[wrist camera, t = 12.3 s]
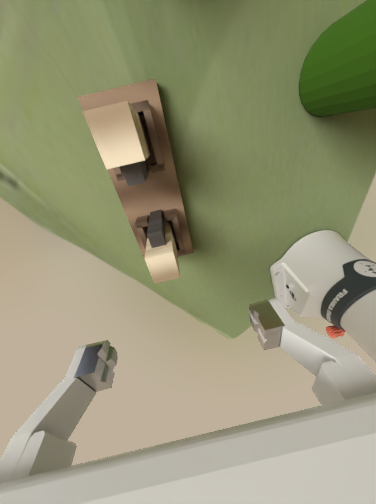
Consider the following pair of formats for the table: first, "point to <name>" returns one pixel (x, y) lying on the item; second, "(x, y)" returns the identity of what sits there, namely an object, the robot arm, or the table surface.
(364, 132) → the table surface
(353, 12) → the wine bottle
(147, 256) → the beige block
